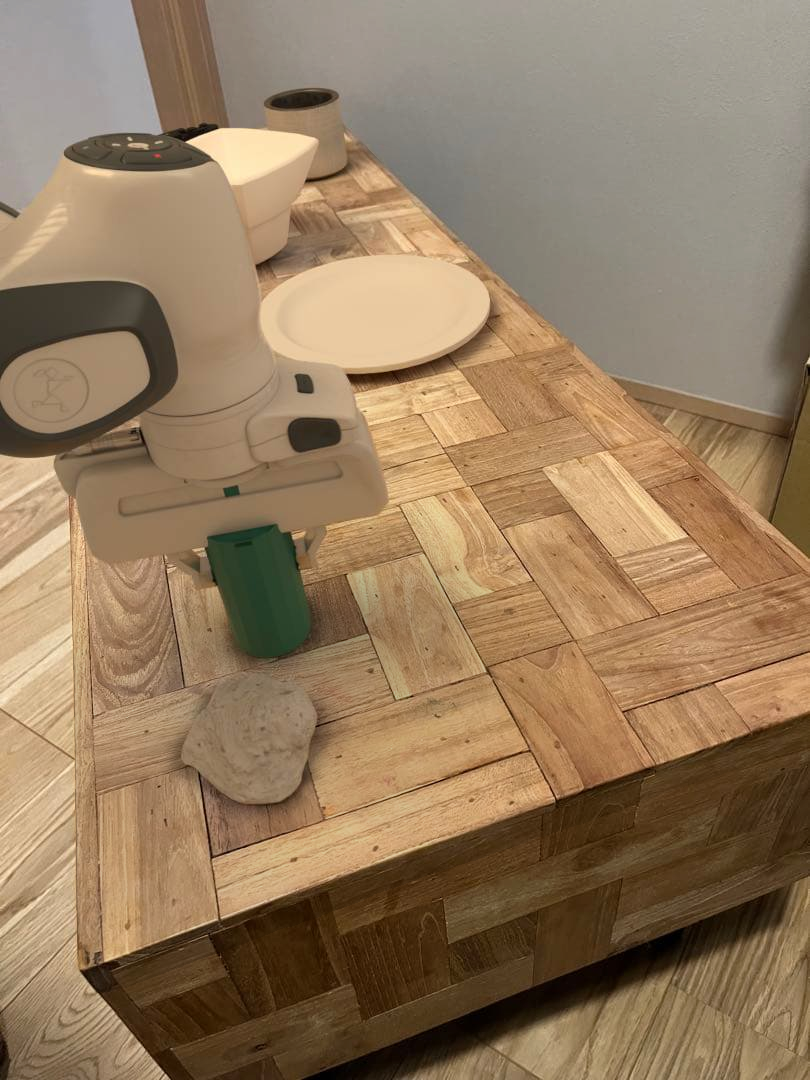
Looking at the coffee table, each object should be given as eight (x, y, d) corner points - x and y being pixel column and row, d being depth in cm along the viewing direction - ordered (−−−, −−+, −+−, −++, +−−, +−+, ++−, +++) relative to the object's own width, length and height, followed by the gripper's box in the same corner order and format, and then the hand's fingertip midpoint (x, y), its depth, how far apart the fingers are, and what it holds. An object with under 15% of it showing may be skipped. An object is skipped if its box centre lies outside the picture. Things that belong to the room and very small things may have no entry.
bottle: (236, 664, 62) (181, 503, 51) (233, 607, 66) (182, 447, 56) (315, 649, 63) (276, 486, 52) (307, 593, 67) (270, 432, 56)
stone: (167, 679, 58) (297, 633, 57) (198, 715, 61) (322, 672, 60) (157, 802, 51) (306, 752, 50) (193, 836, 54) (335, 789, 53)
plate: (214, 367, 95) (209, 349, 93) (320, 262, 113) (317, 246, 112) (444, 402, 86) (443, 383, 84) (518, 282, 104) (518, 265, 103)
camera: (214, 159, 149) (203, 111, 143) (234, 168, 144) (224, 119, 139) (142, 183, 142) (128, 133, 137) (161, 192, 138) (147, 142, 133)
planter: (363, 165, 141) (355, 93, 133) (308, 188, 134) (297, 114, 127) (314, 152, 147) (304, 83, 140) (260, 174, 141) (246, 103, 134)
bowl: (266, 296, 107) (244, 186, 97) (156, 273, 115) (125, 169, 105) (344, 239, 118) (331, 136, 109) (239, 222, 126) (217, 124, 117)
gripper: (35, 475, 48) (111, 632, 57) (382, 415, 49) (400, 576, 59) (49, 416, 52) (117, 569, 62) (366, 362, 54) (385, 520, 63)
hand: (258, 572), depth 60 cm, fingers closed on bottle, 6 cm apart
